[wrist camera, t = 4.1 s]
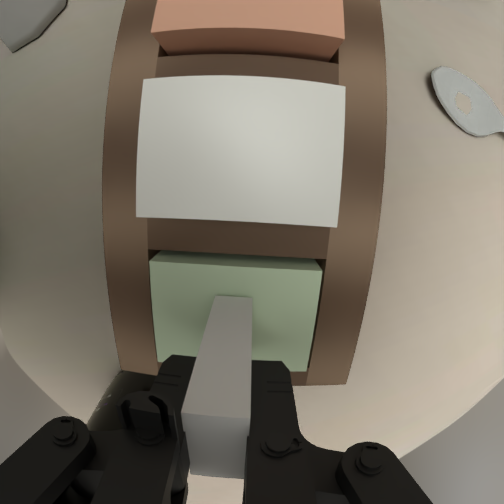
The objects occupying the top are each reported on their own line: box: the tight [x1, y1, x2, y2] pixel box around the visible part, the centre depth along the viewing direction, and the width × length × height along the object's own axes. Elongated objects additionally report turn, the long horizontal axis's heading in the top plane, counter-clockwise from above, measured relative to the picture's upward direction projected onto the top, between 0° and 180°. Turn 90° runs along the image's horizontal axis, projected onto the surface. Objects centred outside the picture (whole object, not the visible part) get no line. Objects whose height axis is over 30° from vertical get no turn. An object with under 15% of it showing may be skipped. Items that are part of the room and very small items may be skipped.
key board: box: [102, 0, 387, 386], centre depth 13 cm, size 22×12×4 cm, turn 177°
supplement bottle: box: [86, 370, 156, 431], centre depth 14 cm, size 7×7×12 cm
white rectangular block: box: [136, 75, 345, 228], centre depth 11 cm, size 5×7×4 cm
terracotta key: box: [151, 0, 345, 62], centre depth 9 cm, size 5×7×4 cm
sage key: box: [149, 250, 322, 371], centre depth 14 cm, size 5×7×4 cm
